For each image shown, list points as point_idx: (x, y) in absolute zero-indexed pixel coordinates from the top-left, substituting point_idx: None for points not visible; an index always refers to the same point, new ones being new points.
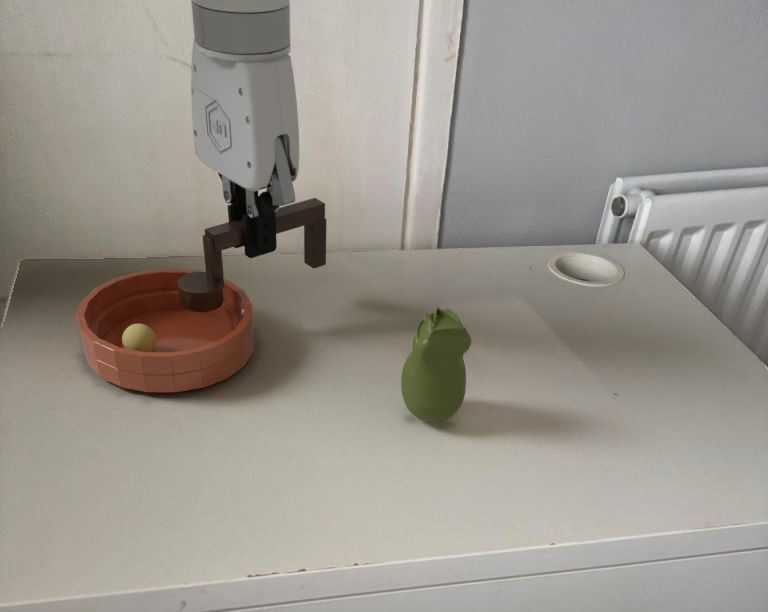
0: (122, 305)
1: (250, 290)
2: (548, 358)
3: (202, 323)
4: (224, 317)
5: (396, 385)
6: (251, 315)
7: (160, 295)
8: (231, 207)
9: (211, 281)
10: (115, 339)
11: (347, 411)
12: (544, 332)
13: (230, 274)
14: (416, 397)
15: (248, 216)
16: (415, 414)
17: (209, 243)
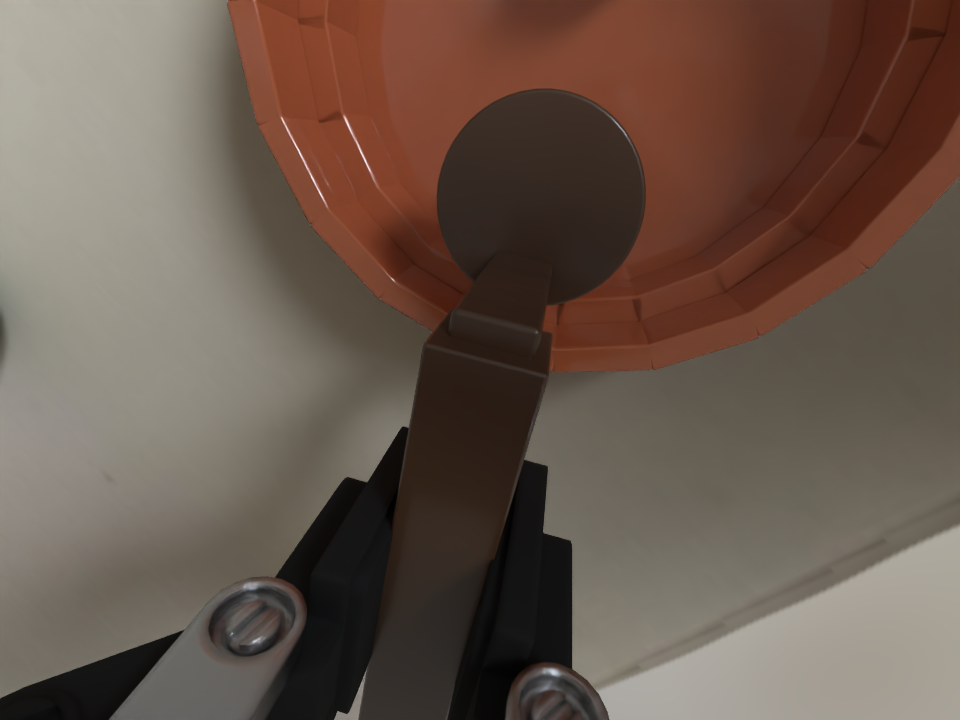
0: (903, 14)
1: (627, 466)
2: (37, 572)
3: None
4: None
5: (89, 343)
6: (323, 239)
7: (798, 197)
8: (495, 633)
9: (499, 245)
10: None
11: (55, 185)
12: (102, 631)
13: (737, 500)
14: None
15: (310, 589)
16: None
17: (462, 304)
